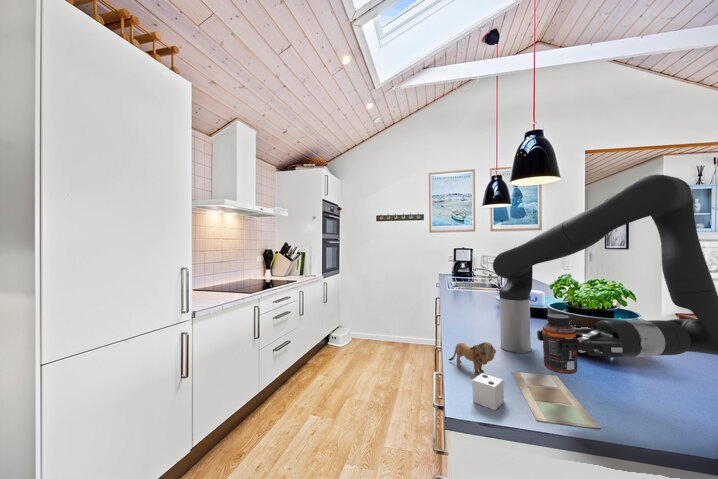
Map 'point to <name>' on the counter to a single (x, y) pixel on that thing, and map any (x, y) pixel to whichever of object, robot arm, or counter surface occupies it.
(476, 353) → the lion figurine
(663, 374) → the counter surface
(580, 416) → the game board
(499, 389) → the die
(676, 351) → the robot arm
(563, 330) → the supplement bottle
